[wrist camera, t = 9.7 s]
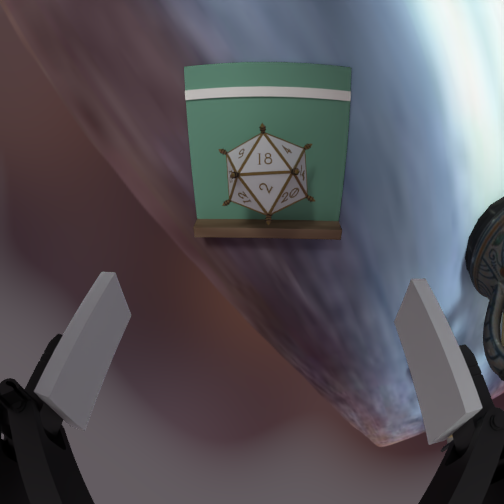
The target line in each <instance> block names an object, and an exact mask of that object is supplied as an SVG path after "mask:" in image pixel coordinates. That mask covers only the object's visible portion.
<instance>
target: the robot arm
mask: <svg viewBox="0 0 504 504" xmlns="http://www.w3.org/2000/svg"><path fill="white" fill-rule="evenodd" d="M130 317H131V313H130V311H129V308H128V306H127V303H126V301H125V298H124V295H123V293H122V290H121V287H120V284H119V282H118V279H117V276H116V273H113V272H101V274H100V275H99V277H98V278H97V280H96V281H95V283H94V284H93V286H92V287H91V289H90V291H89V292H88V294H87V295H86V297H85V299H84V300H83V302H82V303H81V305H80V307H79V308H78V310H77V312H76V314H75V315H74V317H73V318H72V320H71V322H70V324H69V325H68V327H67V329H66V330H65V332H64V334H63V335H61V334H58V335H56V336H55V337H54V338H53V339H52V340H51V341H50V342H49V344H48V346H47V348H46V350H45V351H44V354H43V355H42V357H41V359H40V361H39V362H38V364H37V366H36V368H35V370H34V372H33V374H32V376H31V378H30V380H29V382H28V384H27V386H26V388H25V389H23V388H22V387H21V386H20V385H19V384H18V382H16V380H15V379H11V378H9V379H5V380H4V381H2V382H1V383H0V504H94V502H93V500H92V498H91V496H90V494H89V491H88V489H87V487H86V485H85V482H84V480H83V478H82V475H81V473H80V471H79V468H78V466H77V463H76V461H75V459H74V456H73V453H72V450H71V448H70V445H69V442H68V439H67V436H66V433H65V430H64V428H63V426H62V425H61V424H62V421H63V420H64V421H65V422H66V423H68V424H69V425H70V426H72V427H75V428H77V429H80V430H83V431H85V429H86V426H87V423H88V421H89V418H90V415H91V412H92V409H93V406H94V404H95V401H96V398H97V396H98V393H99V391H100V388H101V385H102V383H103V380H104V378H105V375H106V373H107V370H108V368H109V365H110V363H111V361H112V358H113V356H114V353H115V351H116V349H117V346H118V344H119V342H120V339H121V337H122V335H123V333H124V330H125V328H126V326H127V324H128V321H129V319H130ZM394 323H395V326H396V329H397V332H398V335H399V338H400V340H401V344H402V347H403V350H404V353H405V356H406V359H407V362H408V366H409V369H410V372H411V376H412V379H413V383H414V386H415V390H416V394H417V397H418V401H419V405H420V409H421V413H422V417H423V421H424V426H425V430H426V434H427V439H428V443H429V444H433V443H436V442H440V441H444V440H445V439H447V438H448V437H449V436H451V435H452V436H453V440H452V441H451V442H450V443H448V444H447V445H446V446H444V447H443V448H442V450H441V452H443V451H445V450H446V449H447V451H446V453H445V456H444V458H443V460H442V462H441V464H440V466H439V468H438V470H437V472H436V474H435V476H434V477H433V479H432V481H431V483H430V485H429V486H428V488H427V490H426V492H425V493H424V495H423V497H422V499H421V500H420V502H419V503H418V504H504V411H503V410H502V409H500V408H496V407H495V406H494V404H493V402H492V399H491V396H490V393H489V391H488V388H487V385H486V383H485V380H484V378H483V375H481V370H480V368H479V366H478V363H477V361H476V359H475V356H474V354H473V353H472V351H471V350H470V349H469V348H468V347H467V346H466V345H460V346H459V345H458V343H457V341H456V339H455V336H454V334H453V332H452V330H451V328H450V326H449V324H448V321H447V319H446V317H445V315H444V313H443V311H442V309H441V307H440V305H439V303H438V301H437V299H436V298H435V296H434V294H433V292H432V290H431V288H430V286H429V284H428V283H427V281H426V279H411V281H410V284H409V286H408V289H407V292H406V294H405V297H404V299H403V302H402V304H401V307H400V309H399V312H398V314H397V316H396V319H395V321H394ZM1 433H3V434H4V440H2V439H1Z"/></svg>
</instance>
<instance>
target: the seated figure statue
mask: <svg viewBox="0 0 504 504" xmlns="http://www.w3.org/2000/svg"><path fill="white" fill-rule="evenodd" d="M501 342H502V345H503V346H504V313H503V324H502V338H501Z"/></svg>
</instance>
